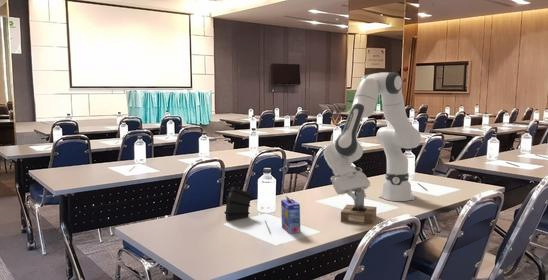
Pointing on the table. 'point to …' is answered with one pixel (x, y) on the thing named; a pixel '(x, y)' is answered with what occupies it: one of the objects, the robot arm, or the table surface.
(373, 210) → the socket block
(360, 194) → the barrel peg
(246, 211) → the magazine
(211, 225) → the table surface
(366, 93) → the robot arm
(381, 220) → the table surface
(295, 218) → the ink cartridge box
